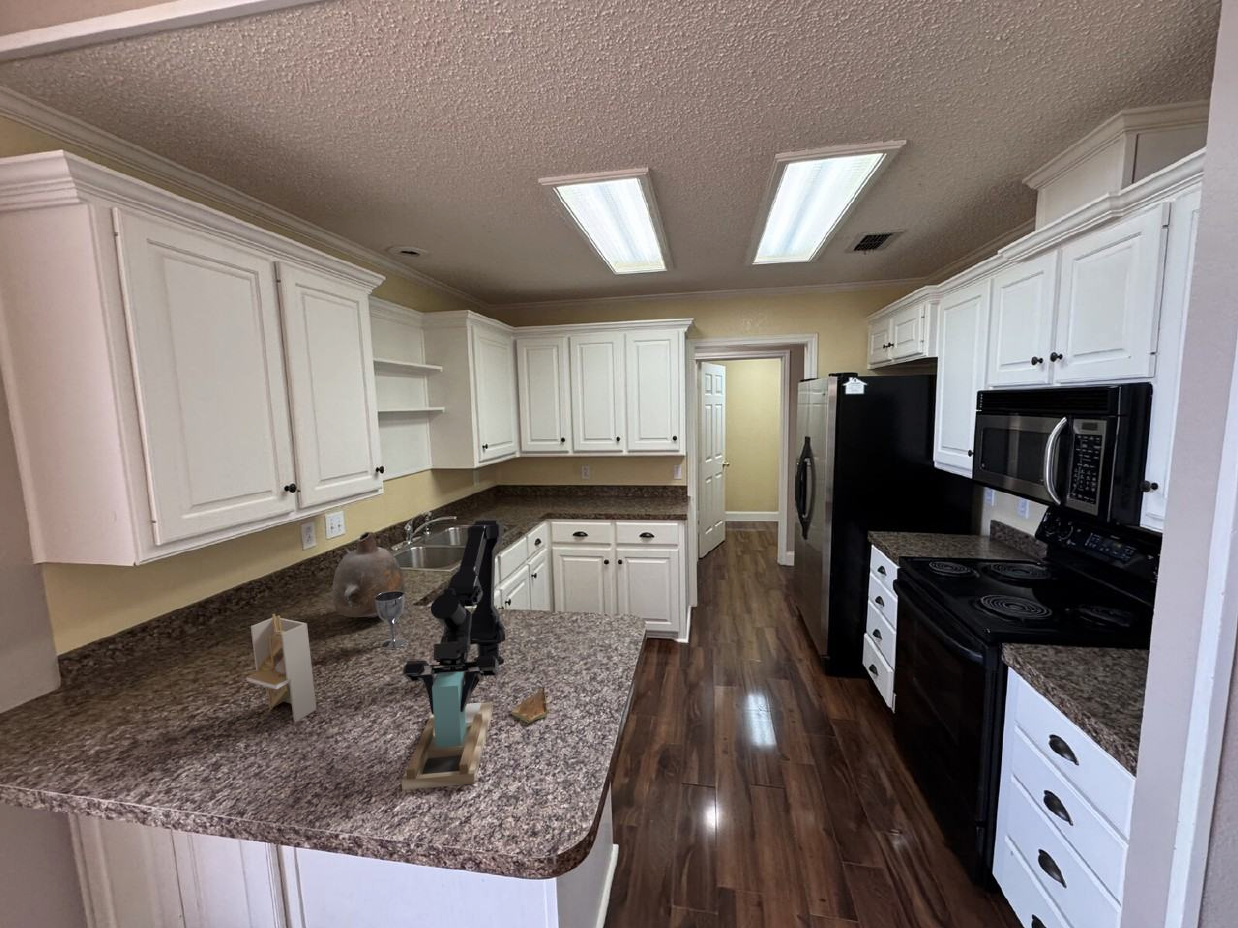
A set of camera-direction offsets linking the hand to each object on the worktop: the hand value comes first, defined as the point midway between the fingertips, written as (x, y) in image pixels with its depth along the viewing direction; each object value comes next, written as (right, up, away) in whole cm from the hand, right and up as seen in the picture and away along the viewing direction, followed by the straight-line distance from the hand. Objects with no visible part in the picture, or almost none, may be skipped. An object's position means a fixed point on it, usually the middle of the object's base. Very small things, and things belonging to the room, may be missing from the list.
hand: (447, 712), depth 98 cm
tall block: (0, -6, +2) cm, 7 cm away
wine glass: (-33, -4, +48) cm, 58 cm away
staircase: (-43, -8, +16) cm, 47 cm away
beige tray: (0, -8, +3) cm, 9 cm away
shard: (+14, -7, +15) cm, 22 cm away
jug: (-48, -2, +66) cm, 82 cm away
